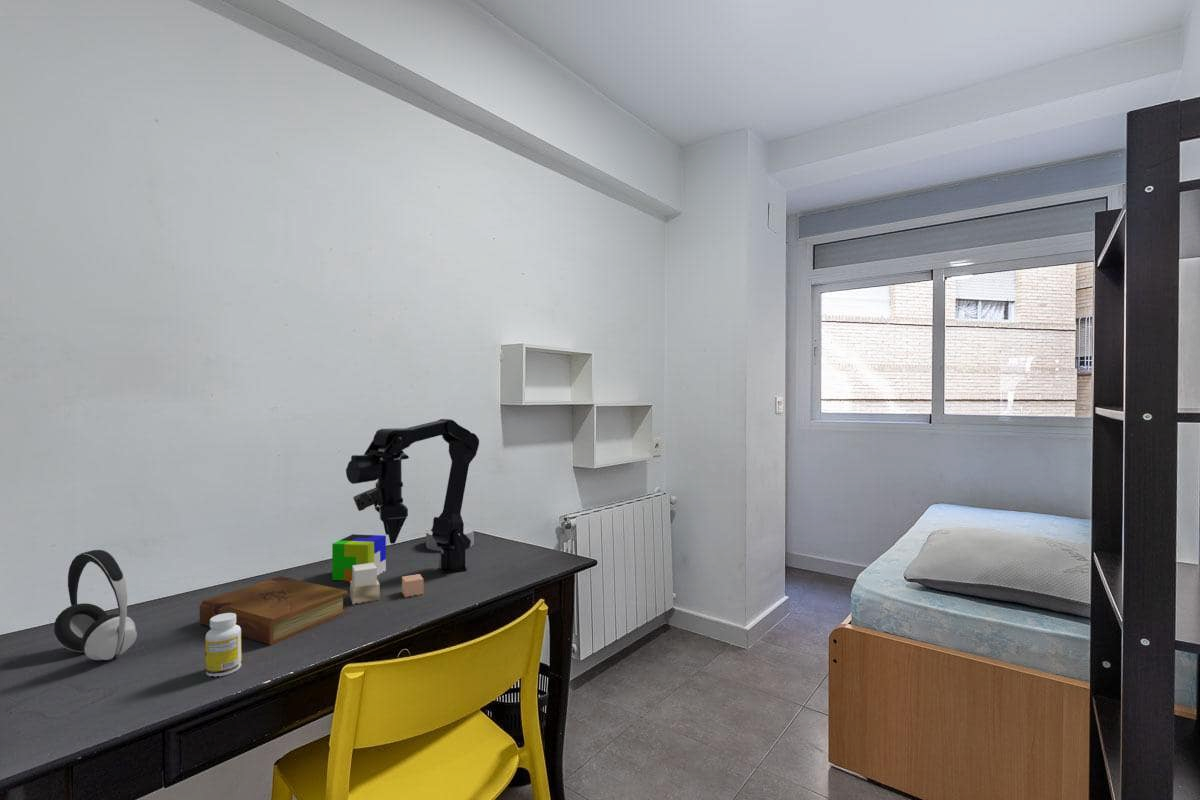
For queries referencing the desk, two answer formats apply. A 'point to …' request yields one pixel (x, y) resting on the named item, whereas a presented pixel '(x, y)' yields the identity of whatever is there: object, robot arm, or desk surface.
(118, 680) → the desk surface
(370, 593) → the tower base
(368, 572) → the tower top
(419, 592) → the cube
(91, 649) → the headphones
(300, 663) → the desk surface
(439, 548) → the grey bowl
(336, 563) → the puzzle toy
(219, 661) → the supplement bottle
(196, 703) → the desk surface
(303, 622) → the diary
